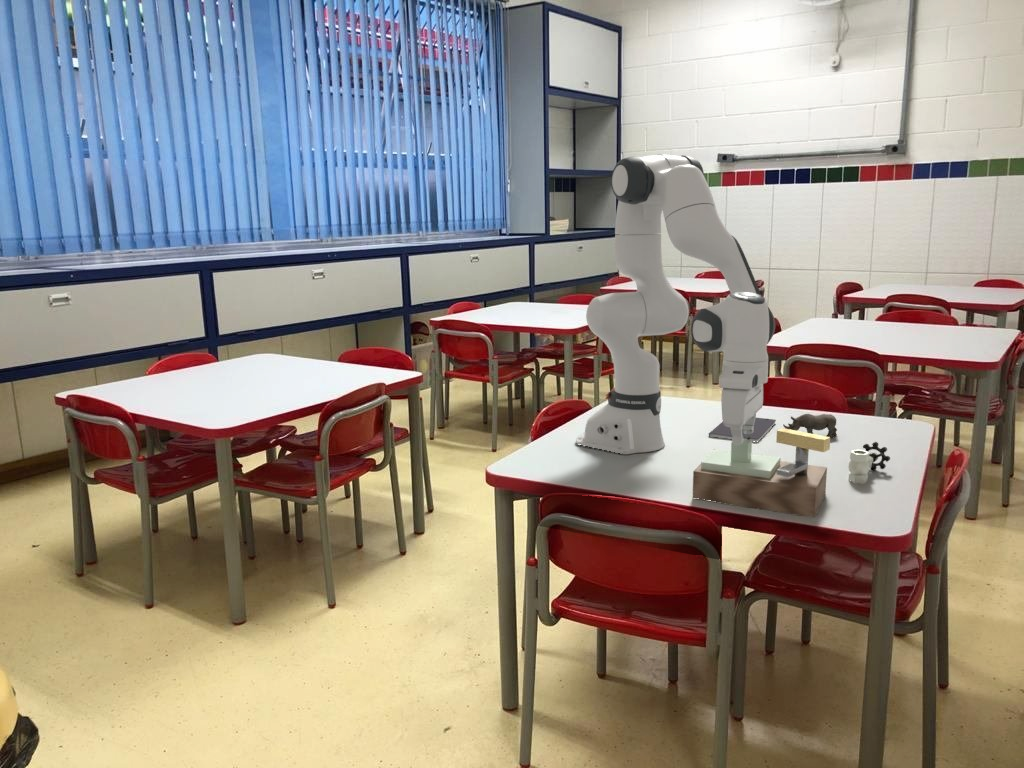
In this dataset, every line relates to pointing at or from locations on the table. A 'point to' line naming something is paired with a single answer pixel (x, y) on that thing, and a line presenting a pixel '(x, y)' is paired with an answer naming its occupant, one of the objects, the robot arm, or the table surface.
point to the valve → (865, 462)
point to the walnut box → (764, 490)
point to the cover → (741, 461)
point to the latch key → (800, 449)
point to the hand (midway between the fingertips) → (743, 438)
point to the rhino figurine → (814, 423)
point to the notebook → (759, 430)
